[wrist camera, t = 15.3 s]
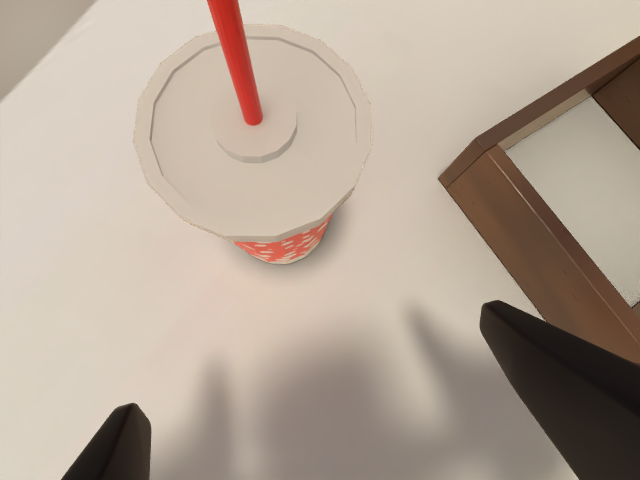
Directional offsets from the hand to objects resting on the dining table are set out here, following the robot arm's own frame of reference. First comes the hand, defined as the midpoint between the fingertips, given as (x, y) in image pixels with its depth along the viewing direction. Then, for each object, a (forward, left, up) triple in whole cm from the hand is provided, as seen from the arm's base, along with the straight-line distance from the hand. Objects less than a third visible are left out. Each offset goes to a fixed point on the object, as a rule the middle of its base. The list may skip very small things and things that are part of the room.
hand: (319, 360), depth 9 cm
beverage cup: (+6, -2, -8) cm, 10 cm away
